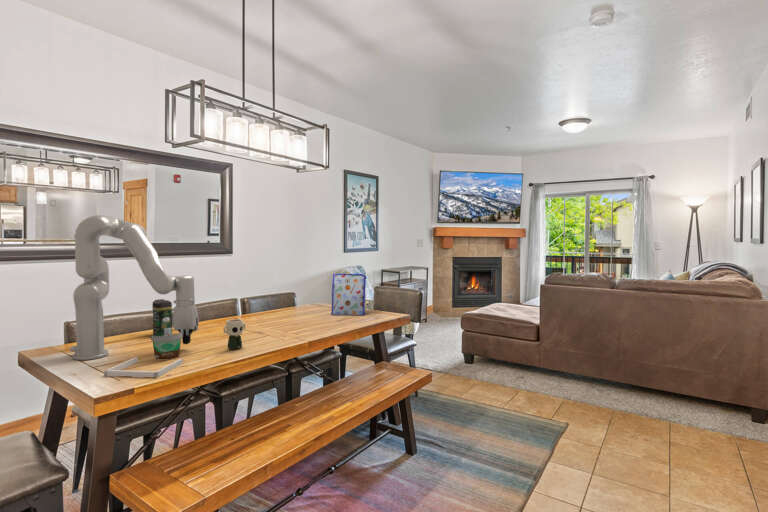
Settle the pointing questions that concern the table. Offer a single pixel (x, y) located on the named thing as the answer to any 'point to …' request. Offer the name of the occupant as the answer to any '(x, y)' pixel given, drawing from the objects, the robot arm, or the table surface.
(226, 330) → the cream and green figurine
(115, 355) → the table surface
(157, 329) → the coffee jar
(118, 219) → the robot arm
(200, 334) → the table surface
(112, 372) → the grey u-shaped frame
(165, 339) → the food container
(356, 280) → the lunch bag
